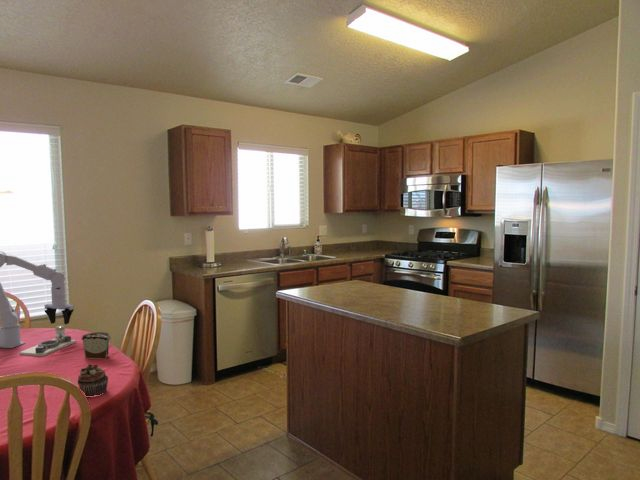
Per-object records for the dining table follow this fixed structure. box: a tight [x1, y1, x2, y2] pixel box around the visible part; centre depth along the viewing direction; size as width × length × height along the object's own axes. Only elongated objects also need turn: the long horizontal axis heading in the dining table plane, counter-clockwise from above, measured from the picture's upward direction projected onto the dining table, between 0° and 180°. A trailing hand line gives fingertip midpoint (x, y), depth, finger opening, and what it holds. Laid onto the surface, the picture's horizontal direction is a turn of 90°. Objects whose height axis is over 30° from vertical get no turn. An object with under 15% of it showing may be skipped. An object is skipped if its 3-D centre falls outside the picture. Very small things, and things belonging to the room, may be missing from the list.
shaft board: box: [18, 338, 77, 357], centre depth 205 cm, size 12×20×2 cm, turn 169°
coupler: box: [54, 325, 66, 339], centre depth 219 cm, size 4×4×6 cm
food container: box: [81, 331, 112, 360], centre depth 194 cm, size 12×6×10 cm, turn 84°
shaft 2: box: [57, 335, 72, 343], centre depth 211 cm, size 5×3×3 cm, turn 149°
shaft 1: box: [35, 344, 47, 353], centre depth 198 cm, size 5×3×3 cm, turn 9°
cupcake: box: [77, 364, 109, 396], centre depth 157 cm, size 10×10×10 cm
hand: (59, 323), depth 218 cm, fingers open, 7 cm apart
